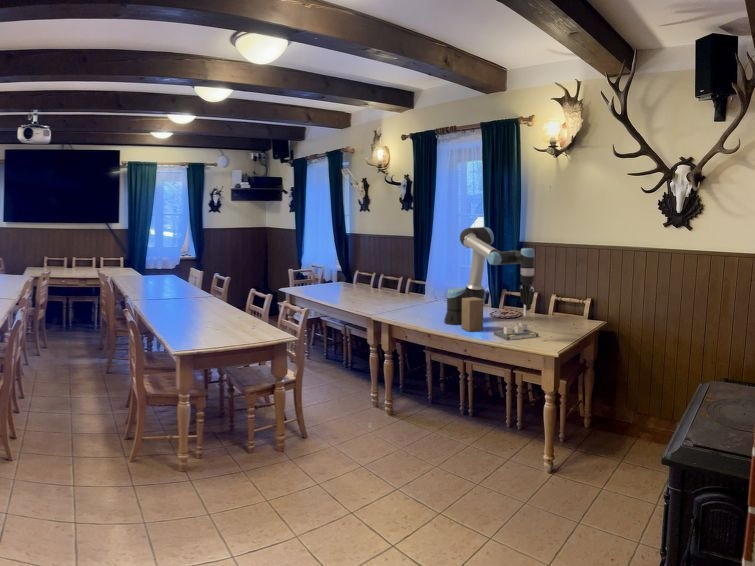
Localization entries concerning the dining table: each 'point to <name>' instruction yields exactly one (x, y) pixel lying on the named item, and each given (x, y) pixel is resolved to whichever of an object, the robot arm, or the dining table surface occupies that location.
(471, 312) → the wooden block
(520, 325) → the slider
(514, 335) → the console
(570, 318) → the dining table surface
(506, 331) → the slider
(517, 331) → the slider
